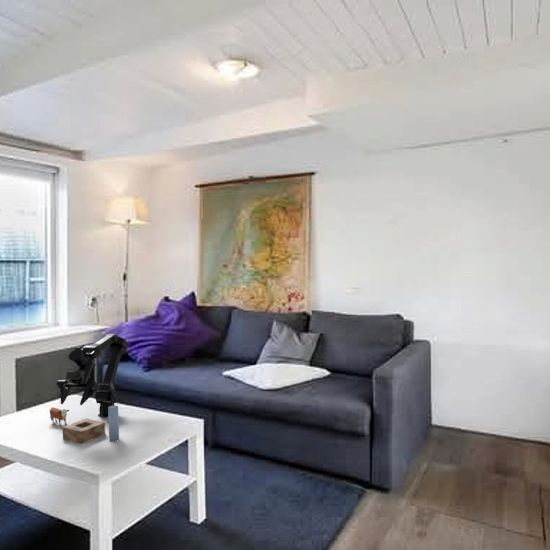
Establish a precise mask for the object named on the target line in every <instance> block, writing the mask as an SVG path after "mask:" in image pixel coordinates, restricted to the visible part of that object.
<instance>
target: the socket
mask: <svg viewBox="0 0 550 550" xmlns="http://www.w3.org/2000/svg"><path fill="white" fill-rule="evenodd" d="M105 434H106V424H105V422H104V421H99V420H95V419H92V418H91V419H90V418H84V419H81V420H78V421H75V422H73V423H70V424H67V425H64V426H62V439H63V440H65V441H70V442H74V443H78V444H80V445H81V444H82V445H83V444H84V443H86V442H89V441H92V440H93V439H97V438H98V437H101V436H104V435H105Z"/></svg>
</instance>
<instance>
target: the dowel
mask: <svg viewBox="0 0 550 550" xmlns="http://www.w3.org/2000/svg"><path fill="white" fill-rule="evenodd" d="M107 418H108V441H109V442H111V441H114V442H118V441H120V423H119V422H120V421H119V405H114V406H110V407H108V417H107ZM117 440H118V441H117Z"/></svg>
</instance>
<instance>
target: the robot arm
mask: <svg viewBox="0 0 550 550" xmlns="http://www.w3.org/2000/svg"><path fill="white" fill-rule="evenodd" d="M128 342H129V341H127V340H126V339H125V338H123V337H122V336H121V337H120V336H119V335H117V334H116V333H107V334H106V335H105V336H104V337H103V338H101V339H99V340H98V341H96V342H95V343H90V344H87V345H84V346H83V347H80V346H78V347H75V349H74V350H72V351H71V352H69V354H68V359H69V361H71V363H73V365H75V366H76V367H77V369H76V370H74V371H67V372H66V375H65V379H59V380H56V383H55V387H56V388H57V389H58V390H60V405H63V404H64V403H65V401H66V400H67V398H68V396H69V395H70V393H71V392H70V390H71V388H72V389H83V393H82V397H81V399H80V402H79V406H83V405H84V403H86V402H87V400H89V399H90V398H91V397H92V396H93V395H94V398H95V399H94V400H95V402H96V404H99V408H98V409H99V410H98V411H99V414H97V416H98V417H102V418H108V407H110V406H115V404H116V403H117V402H118V397H119V396H118V395H117V394H116V393H115V392H116V391H115V386H114V382H115V378H116V375H117V372H118V368H119V364H120V361H121V358H122V356H123V355H125V354H126V352H127V349H128V347H129V343H128ZM108 347H109V352H110V357H109V360H108V363H107V367H106V370H105V374H104V377H103V381H102V382H101V383H98V381H95V380H89V379H91V376H92V375H90V374H91V372H92V369H93V367H96V366H97V365H96V363H95V360H92V359H98V358H99V357H100V356H101V355H102V352H103V350H105V349H107V348H108ZM68 380H69V381H68Z"/></svg>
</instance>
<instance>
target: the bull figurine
mask: <svg viewBox="0 0 550 550" xmlns="http://www.w3.org/2000/svg"><path fill="white" fill-rule="evenodd" d="M69 411H70V409H66V408H58V407H54V406H53V407H50V409H49V415H50V416H49V418H50V420H51V421H52V425H55V424H56V423H58V426H59V427H60V426H62V424H61V422H62V421H64V426H67V425H68V422H67V420H66V419H67V415H68V414H67V412H69ZM51 421H50V422H51Z"/></svg>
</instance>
